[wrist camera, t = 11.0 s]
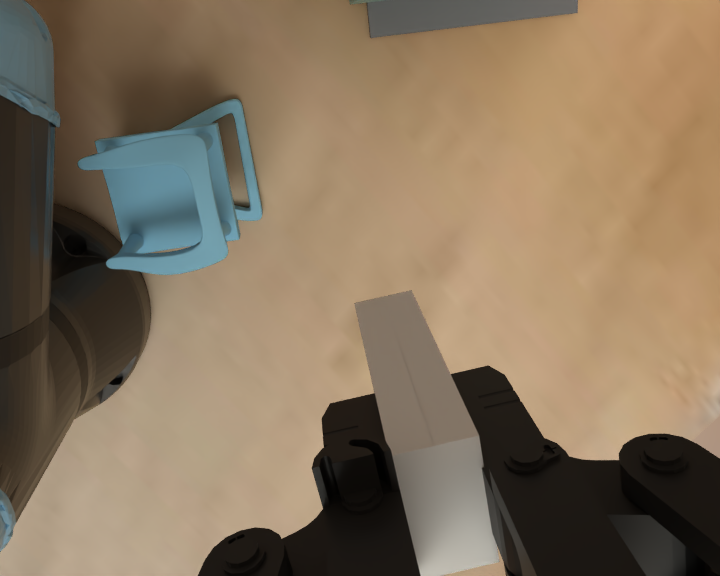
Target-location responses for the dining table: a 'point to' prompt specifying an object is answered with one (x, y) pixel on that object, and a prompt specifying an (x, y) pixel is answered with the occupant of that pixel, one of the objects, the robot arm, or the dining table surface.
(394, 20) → the slate mat
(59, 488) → the dining table surface
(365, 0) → the teal block
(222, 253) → the chair
